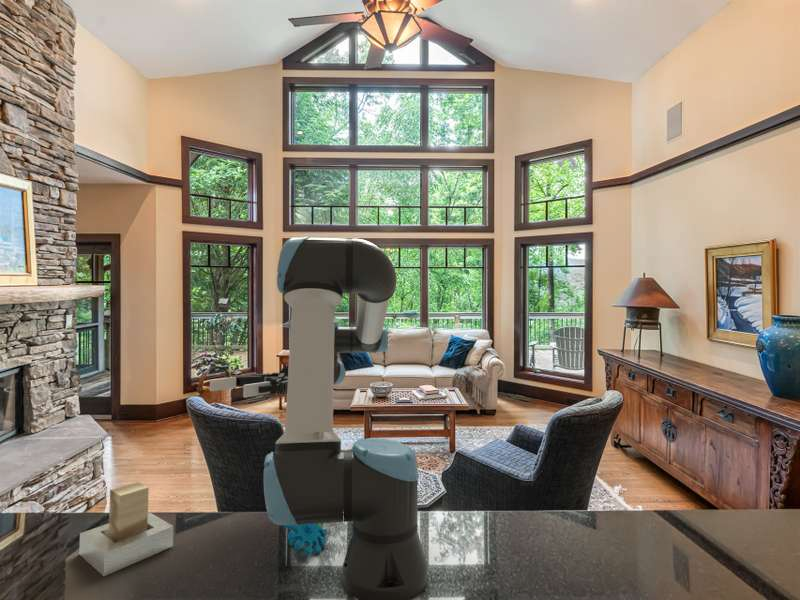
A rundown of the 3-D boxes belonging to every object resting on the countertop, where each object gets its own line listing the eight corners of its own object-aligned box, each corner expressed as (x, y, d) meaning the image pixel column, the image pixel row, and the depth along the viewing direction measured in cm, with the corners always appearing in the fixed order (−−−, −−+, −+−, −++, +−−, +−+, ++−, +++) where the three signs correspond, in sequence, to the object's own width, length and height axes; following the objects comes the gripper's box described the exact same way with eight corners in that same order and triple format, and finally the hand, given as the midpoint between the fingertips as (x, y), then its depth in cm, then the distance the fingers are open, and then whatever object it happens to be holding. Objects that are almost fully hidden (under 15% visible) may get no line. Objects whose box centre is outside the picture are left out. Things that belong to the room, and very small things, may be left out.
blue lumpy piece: (304, 558, 76) (280, 509, 81) (285, 577, 77) (262, 527, 82) (340, 539, 86) (316, 496, 90) (322, 556, 87) (300, 512, 91)
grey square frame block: (172, 546, 83) (173, 526, 83) (103, 576, 73) (104, 553, 74) (145, 529, 90) (146, 510, 90) (79, 554, 80) (79, 533, 80)
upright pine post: (146, 548, 82) (148, 487, 83) (118, 560, 78) (120, 495, 79) (135, 540, 85) (137, 481, 86) (107, 551, 81) (110, 489, 82)
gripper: (331, 396, 105) (260, 411, 87) (269, 387, 119) (197, 398, 102) (331, 367, 105) (260, 376, 88) (269, 361, 119) (198, 368, 102)
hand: (226, 388), depth 95 cm, fingers open, 13 cm apart
